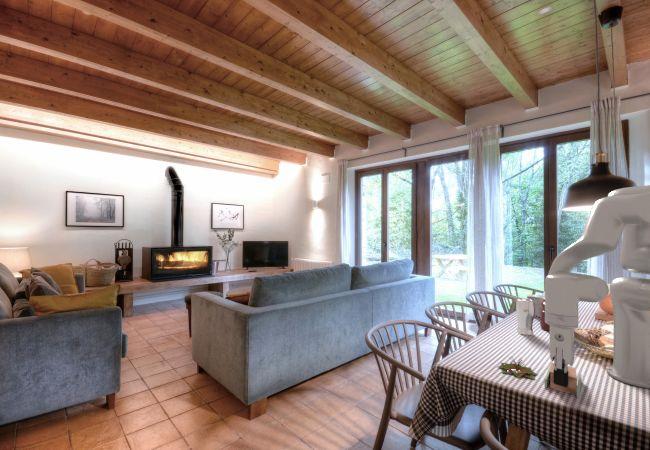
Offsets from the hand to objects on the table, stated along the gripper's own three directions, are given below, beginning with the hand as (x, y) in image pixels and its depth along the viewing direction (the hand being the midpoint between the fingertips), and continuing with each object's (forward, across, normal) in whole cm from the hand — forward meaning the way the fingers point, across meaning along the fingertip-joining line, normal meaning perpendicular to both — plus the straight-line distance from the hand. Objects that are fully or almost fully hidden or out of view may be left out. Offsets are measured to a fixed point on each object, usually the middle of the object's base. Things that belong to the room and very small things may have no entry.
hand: (560, 384), depth 86 cm
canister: (+3, +69, +7) cm, 69 cm away
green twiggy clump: (+3, +8, +12) cm, 15 cm away
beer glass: (+3, +53, +17) cm, 56 cm away
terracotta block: (+3, +6, 0) cm, 7 cm away
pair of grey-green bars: (+3, +7, 0) cm, 7 cm away
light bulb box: (+3, +92, +17) cm, 93 cm away
